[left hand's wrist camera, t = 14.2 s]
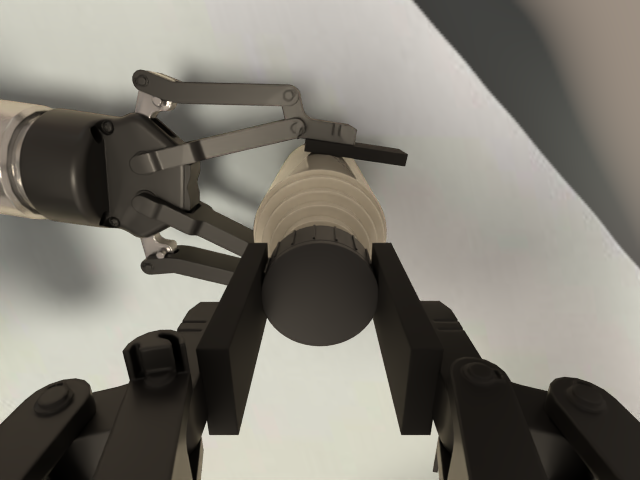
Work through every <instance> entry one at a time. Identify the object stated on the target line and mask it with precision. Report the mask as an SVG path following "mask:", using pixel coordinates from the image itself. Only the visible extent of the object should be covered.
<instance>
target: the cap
mask: <svg viewBox="0 0 640 480" xmlns="http://www.w3.org/2000/svg"><path fill="white" fill-rule="evenodd" d="M263 274H264V275H265V276H264V279H263V282H262V287H261V289H262V304H263V310H264V312H265V314H266V317H267V318H268V320H269V321H270V323H271V324H272V325H273V326H274V328H276V329H277V330H278V331H279V332H280V333H281V334H283V335H284V336H286V337H287V338H289V339H291V340H293V341H296V342H298V343H302V344H305V345H311V346H329V345H335V344H338V343H342V342H344V341H347V340H349V339H351V338H353V337H354V336H356V335H357V334H359V333H360V332H361V331H362V330H363V329H364V328H365V327H366V326H367V325H368V324H369V323H370V321H371V320H372V318H373V316H374V314H375V312H376V309H377V301H378V283H377V280H376V276H375V273H374V270H373V267H372V263H371V259H370V256H369V253H368V250H367V248H366V249H365V248H364V246H363V245H362V244H361V243H360V242H359V241H358V240H357V239H356V238H355V236H354V235H351V234H349V233H348V232H346V231H344V230H342V229H339V228H336V227H335V226H334V227H331V226H323V225H317V226H316V225H313V226H309V227H305V228H301V229H299V230H294V231H293V232H292V233H291V234H289V235H287V236H286V237H285V238H284V239H283V240H281V242H278V244H277V246H276V248H275V249H274V251H273V253H272V255H271V257H269V258H268V261H267V264H266V267H265V270H264V273H263Z"/></svg>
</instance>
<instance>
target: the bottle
mask: <svg viewBox="0 0 640 480" xmlns="http://www.w3.org/2000/svg"><path fill="white" fill-rule="evenodd" d="M304 148H305V144H304V145H302V146H300V147H298V148H297V149H295V150H294V151H293V152H292V153H291V154H290V155H289V156H288V157H287V159H286V160H285V162H284V164H283V166H282V167H281V169H280V171H279V172H278V174H277V176H276V178H275V179H274V181H273V183H272V185H271V186H270V188H269V190H268V192H267V193H266V195H265V197H264V198H263V200H262V202H261V204H260V206H259V208H258V210H257V213H256V216H255V221H254V231H253V235H254V243H268V258H269V257H271V255H272V253H273V251H274V249H275V248H276V246H277V244H278V242H281V240H283V239H284V238H285V237H286V236H287V235H289V234H291V233H292V232H293V231H294V230H299V229H301V228H305V227H309V226H313V225H316V226H317V225H323V226H331V227H334V226H335V227H336V228H339V229H342V230H344V231H346V232H348V233H349V234H351V235H354V236H355V238H356V239H357V240H358V241H359V242H360V243H361V244H362V245H363V246H364V248H365V249H366V248H367V250H368V253H369V256H370V259H371V255H372V243H385V242H386V232H387V229H386V221H385V217H384V213H383V211H382V208H381V206H380V204H379V202H378V201H377V199H376V197H375V195H374V194H373V192H372V190H371V188H370V187H369V185H368V183H367V181H366V180H365V178H364V176H363V174H362V173H361V171H360V169H359V167H358V166H357V164H356V162H355V161H354V159H352V158H345V157H338V156H332V155H325V154H318V153H311V152H304Z"/></svg>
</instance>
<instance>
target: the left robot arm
mask: <svg viewBox="0 0 640 480" xmlns="http://www.w3.org/2000/svg"><path fill="white" fill-rule="evenodd" d="M267 261H268V243H248V245H247V247H246V249H245V251H244V253H243V255H242V257H241V259H240V261H239V263H238V265H237V267H236V269H235V271H234V273H233V275H232V277H231V279H230V282H229V284H228V286H227V288H226V290H225V292H224V294H223V296H222V298H221V300H220V302H200V303H199V304H197V305H196V306H195V307H193V308H192V309H190V310H189V311H188V313H187V314H186V316H185V318H184V319H183V322H182V323H181V324H180V326H179V327H178V329H177V331H173V330H158V331H153V332H149V333H146V334H144V335H142V336H139V337H137V338H136V339H134V340H133V341H132V342H130V343H129V344H128V345H127V346H126V347H125V349H124V350H123V355H124V359H125V363H126V367H127V371H128V375H129V379H130V381H129V383H128V384H125V385H122V386H119V387H115V388H110V389H106V390H102V391H97V392H93V393H92V390H91V387H90V385H89V384H88V383H87V382H86V381H85V380H81V379H76V378H75V379H66V380H61V381H58V382H55V383H52V384H49V385H47V386H45V387H43V388H42V389H40V390H38V391H36V392H35V393H33V394H32V395H31V396H30V397H28V398H27V399H26V400H25V401H24V402H23V403H22V404H20V405H19V406H18V407H17V408H16V409H15V410H14V411H13V412H12V413H11V414H10V415H9V416H8V417H7V418H6V419H5V420H4V421H3V422H2V423H1V424H0V480H201V471H202V461H203V451H204V450H203V443H202V437H201V436H202V433H203V430H204V427H205V424H206V421H207V423H208V430H209V435H239V431H240V427H241V423H242V419H243V414H244V410H245V406H246V402H247V398H248V394H249V390H250V386H251V381H252V377H253V373H254V369H255V365H256V361H257V357H258V353H259V348H260V344H261V340H262V336H263V332H264V328H265V324H266V320H267V317H266V314H265V312H264V310H263V304H262V289H261V287H262V282H263V279H264V276H265V275H264V274H263V273H264V270H265V267H266V264H267ZM371 263H372V267H373V270H374V273H375V276H376V280H377V283H378V301H377V309H376V312H375V314H374V316H373V321H374V325H375V329H376V333H377V337H378V341H379V345H380V349H381V354H382V358H383V362H384V366H385V370H386V374H387V378H388V382H389V387H390V391H391V395H392V399H393V403H394V407H395V411H396V415H397V419H398V424H399V428H400V432H401V435H430V434H431V428H432V422H433V420H434V423H435V426H436V429H437V432H438V434H439V437H438V443H437V449H436V455H435V461H434V467H433V472H438V471H439V480H640V422H639V421H638V420H637V419H636V418H635V417H634V416H633V415H632V414H631V413H630V412H629V411H628V410H627V409H626V408H625V407H624V406H623V405H621V404H620V403H619V402H618V401H617V400H616V399H615V398H614V397H613V396H611V395H610V394H609V393H608V392H606V391H605V390H604V389H602V388H600V387H598V386H596V385H594V384H592V383H590V382H587V381H584V380H581V379H578V378H570V377H562V378H557V379H555V380H554V381H552V382H551V383H550V386H549V389H548V391H545V390H540V389H536V388H531V387H527V386H523V385H519V384H516V383H513V382H511V381H510V379H509V377H508V376H507V374H506V373H505V372H504V371H503V370H502V369H501V368H499V367H498V366H497V365H495V364H493V363H491V362H489V361H487V360H484V359H482V358H481V357H480V355H479V353H478V352H477V350H476V349H475V347H474V345H473V344H472V342H471V341H470V339H469V337H468V336H467V334H466V333H465V331H464V330H463V328H462V326H461V325H460V323H459V322H458V321H457V318H456V317H455V315H454V313H453V312H452V310H451V309H450V308H448V307H447V306H446V305H444V304H443V303H441V302H440V301H420V300H419V298H418V296H417V294H416V292H415V290H414V288H413V286H412V284H411V282H410V280H409V278H408V276H407V274H406V272H405V270H404V268H403V266H402V264H401V262H400V260H399V258H398V256H397V254H396V252H395V250H394V248H393V246H392V244H391V243H372V255H371Z"/></svg>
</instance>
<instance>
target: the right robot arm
mask: <svg viewBox="0 0 640 480" xmlns="http://www.w3.org/2000/svg"><path fill="white" fill-rule="evenodd" d="M132 81H133V84H134V86H135V87H136V88H137V89H138V90H139V92H138V97H137V103H136V108H135V113H129V114H127V115H125V116H122V117H117V116H110V115H104V114H97V113H90V112H83V111H77V110H70V109H63V108H57V109H52V108H50V107H47V106H43V105H36V104H29V103H22V102H15V101H8V100H1V99H0V214H5V215H12V216H18V217H25V218H31V219H49V220H52V221H57V222H65V223H72V224H79V225H87V226H94V227H103V228H119V229H123V230H125V231H127V232H129V233H131V234H132V235H134V236H136V237H139V238H141V242H142V245H143V248H144V252H145V255H146V259H145V260H144V261H143V262H142V263H141V269H142V271H143V272H145V273H146V274H151V275H152V274H165V273H177V274H181V275H185V276H190V277H194V278H198V279H202V280H207V281H211V282H215V283H220V284H224V285H228V284H229V282H230V279H231V277H232V275H233V273H234V271H235V269H236V267H237V265H238V263H239V261H240V259H241V258H238V257H234V256H230V255H226V254H222V253H217V252H213V251H209V250H205V249H201V248H197V247H192V246H186V245H177V243H176V241H175V240H169V239H165V238H163V237H162V236H161V235H160V233H159V232H161V231H163V230H165V229H167V228H168V227H170V226H171V227H173V228H175V229H177V230H179V231H182V232H184V233H186V234H188V235H197V236H200V237H202V238H204V239H206V240H208V241H210V242H212V243H214V244H216V245H218V246H220V247H223V248H225V249H227V250H229V251H231V252H233V253H235V254H237V255H239V256H241V257H242V255H243V253H244V251H245V249H246V247H247V245H248V243H254V235H253V230H251V229H249V228H247V227H245V226H243V225H241V224H239V223H237V222H235V221H233V220H231V219H229V218H227V217H225V216H223V215H221V214H219V213H217V212H215V211H214V210H213V209H212V207H210V206H209V205H207V204H205V203H203V202H201V201H200V192H199V188H198V184H197V180H198V176H199V173H200V161H202V160H205V159H209V158H213V157H218V156H222V155H227V154H231V153H235V152H240V151H244V150H248V149H253V148H257V147H261V146H266V145H270V144H274V143H279V142H283V141H287V140H292V139H296V138H297V139H299V138H304V139H306V140H305V148H304V152H311V153H318V154H325V155H332V156H338V157H345V158H352V159H359V160H366V161H372V162H379V163H386V164H393V165H399V166H405V165H406V160H407V156H408V154H406V153H405V152H403V151H401V150H400V149H396V148H389V147H382V146H376V145H369V144H362V143H356V142H355V138H356V132H357V130H356V129H355V128H353V127H352V126H350V125H349V124H344V123H337V122H331V121H324V120H318V119H312V118H310V117H308V116H307V115H306V114H305V112H304V109H303V105H302V100H301V95H300V91H299V90H298V89H297V88H296V87H294V86H292V85H285V84H243V83H202V82H182V81H179V80H177V79H174V78H172V77H169V76H167V75H164V74H162V73H157V72H152V71H145V70H137V71H136V72H135V73H134V74H133V77H132ZM177 103H181V104H215V105H258V106H282V109H283V113H284V118H285V119H283V120H279V121H275V122H271V123H266V124H262V125H258V126H254V127H249V128H245V129H241V130H237V131H232V132H228V133H224V134H220V135H215V136H211V137H206V138H202V139H198V140H193V141H189V142H184V141H183V140H181V139H180V138H179V137H178V136H177V135H176V134H175V133H173V132H172V131H171V130H170V129H169V128H168V127H167V126H166V125H164V124H163V123H162V122H161V121H160V120H159V119H158V118H156V117H157V114H158V113H159V112H160V111H172V110H174V109H175V108H176V105H177Z"/></svg>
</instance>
